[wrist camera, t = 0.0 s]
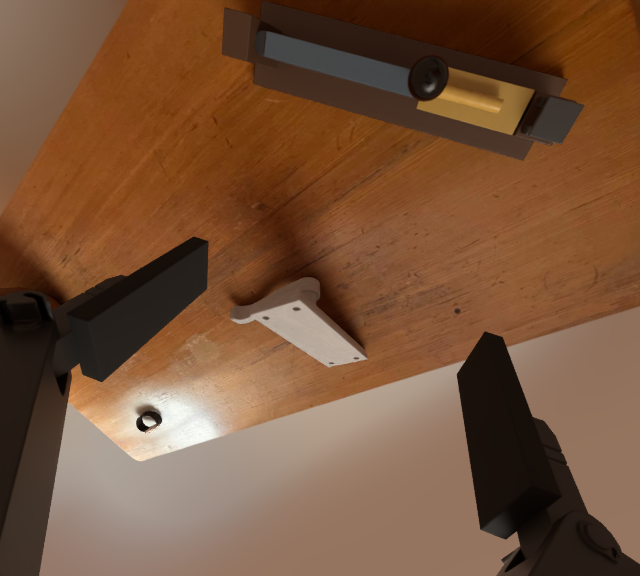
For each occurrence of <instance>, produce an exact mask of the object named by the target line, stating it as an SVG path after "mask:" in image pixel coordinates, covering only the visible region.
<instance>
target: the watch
mask: <svg viewBox="0 0 640 576" xmlns="http://www.w3.org/2000/svg"><path fill="white" fill-rule="evenodd" d="M143 416H150V417H152V418H153V419H154V420H155V421H156V424H155V425H153V426H151V427H148V426H146V425H145V424H144V423H143V420H142V417H143ZM161 423H162V418H161V416H160V415H159V414H158V413H157V412H154V411H148V412H145V413H144V414H142V415H141V416H140V417H139V418H138V419H137V421H136V425H137V428H138V429H139V430H140V431H142V432H145V434H148V433H150V432H152V431H153V430H155V429H156V428H157V427H159V426H160V424H161Z"/></svg>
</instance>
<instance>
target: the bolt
mask: <svg viewBox="0 0 640 576" xmlns="http://www.w3.org/2000/svg"><path fill="white" fill-rule="evenodd" d="M448 80H449V68H448V65H447V63H446V61H445V60H444V59H443V58H442V57H440V56H438V55H434V54H430V55H425V56H423V57H421V58H420V59H418V60H417V61H416V62H415V63H414V65H413V66H412V68H411V69H410V72H409V75H408V80H407V84H408V89H409V92H410V94H411V95H412V96H413V97H414V98H415V99H416V100H418V101H422V102H427V101H431V100H434V99H435V98H441V99H445V100H448V101H452V102H456V103H459V104H463V105H467V106H470V107H474V108H478V109H481V110H485V111H488V112H492V113H496V114H497V113H498V112H499V111H500V109H501V107H502V105H503V102H504V99H501V98H497V97H494V96H490V95H486V94H483V93H479V92H475V91H471V90H468V89H464V88H460V87H457V86H453V85H449V84H447V83H448Z"/></svg>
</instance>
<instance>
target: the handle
mask: <svg viewBox="0 0 640 576" xmlns="http://www.w3.org/2000/svg"><path fill="white" fill-rule="evenodd" d="M319 298H320V283H319V281H318V280H317V279H315V278H311V277H305V278H301V279H299V280H297V281H295V282H292V283H290V284H288V285H286V286H284V287H282V288H280V289H278V290H276V291H274V292H272V293H271V294H269V295H268V296H266V297H265V298H263V299H261V300H260V301H258V302H256V303H253V304H252V305H247V306H234V307H232V309H231V311H230V319H231V320H232V321H234V322H236V323H239V324H244V323H248V322H251V321H253V320H255V319H256V320H257V321H259V322H260V323H262V324H263V325H265V326H266V327H268V328H269V329H271V330H272V331H274V332H276V333H277V334H279V335H280V336H282V337H283V338H285V339H286V340H288V341H289V342H291V343H292V344H294V345H295V346H297V347H298V348H300V349H301V350H303V351H304V352H306V353H307V354H309V355H311V356H312V357H314V358H315V359H317V360H318V361H320V362H321V363H323V364H324V365H326V366H327V367H331V366H336V365H341V364H346V363H351V362H356V361H361V360H366V359H367V354H366V351H365V350H364V349H363V348H362V347H361V346H360V345H359V344H358V343H357V342H356V341H355V340H353V339H352V338H351V337H350V336H349V335H348V334H347V333H346V332H345V331H344V330H343V329H341V328H340V327H339V326H338V325H337V324H336V323H335V322H334V321H333V320H332V319H330V318H329V317H328V316H327V315H326V314H325V313H324V312H323V311H322V310H321V309H319V308H318V307H317V306H316V301H317V300H319Z"/></svg>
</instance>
